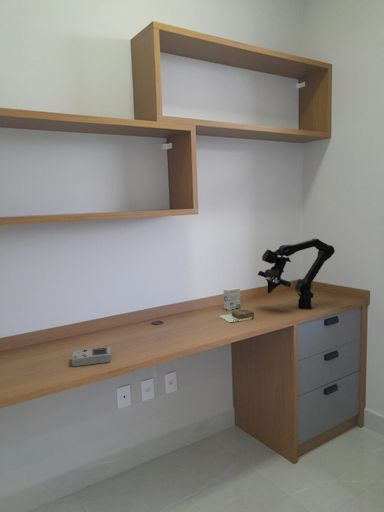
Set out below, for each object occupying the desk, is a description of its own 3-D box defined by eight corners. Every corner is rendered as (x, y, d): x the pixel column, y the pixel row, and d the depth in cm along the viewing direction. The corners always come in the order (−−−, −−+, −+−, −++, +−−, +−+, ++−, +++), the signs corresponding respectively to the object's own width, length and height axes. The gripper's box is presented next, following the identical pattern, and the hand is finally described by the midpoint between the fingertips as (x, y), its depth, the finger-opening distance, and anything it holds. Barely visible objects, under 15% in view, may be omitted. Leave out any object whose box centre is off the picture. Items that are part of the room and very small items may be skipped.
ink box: (235, 306, 225) (235, 287, 224) (240, 308, 221) (240, 288, 219) (223, 309, 221) (223, 289, 219) (229, 310, 216) (228, 290, 215)
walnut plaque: (246, 309, 208) (231, 311, 205) (253, 312, 200) (238, 314, 197) (246, 313, 208) (231, 315, 205) (254, 317, 200) (238, 319, 197)
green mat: (242, 313, 210) (242, 312, 210) (254, 319, 197) (254, 318, 197) (218, 316, 206) (218, 315, 206) (230, 323, 193) (230, 322, 193)
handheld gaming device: (73, 359, 154) (72, 350, 154) (110, 354, 157) (110, 346, 157) (71, 368, 145) (71, 358, 145) (111, 363, 149) (110, 354, 148)
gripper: (257, 258, 211) (247, 285, 211) (286, 269, 198) (275, 297, 199) (267, 263, 219) (257, 288, 219) (295, 273, 206) (285, 300, 207)
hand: (268, 293), depth 211 cm, fingers closed
